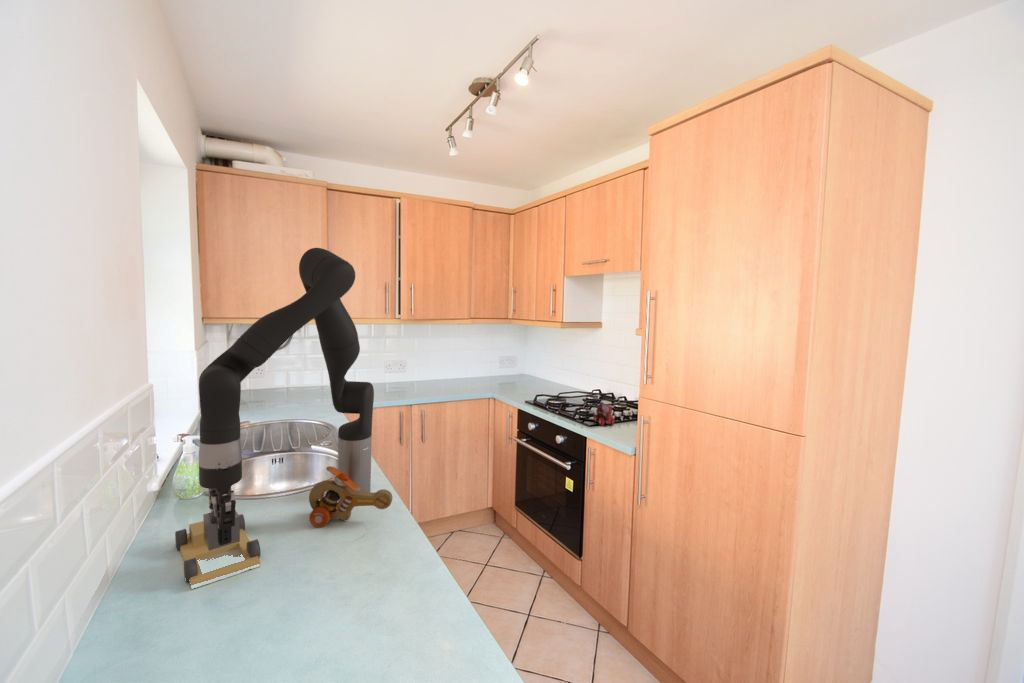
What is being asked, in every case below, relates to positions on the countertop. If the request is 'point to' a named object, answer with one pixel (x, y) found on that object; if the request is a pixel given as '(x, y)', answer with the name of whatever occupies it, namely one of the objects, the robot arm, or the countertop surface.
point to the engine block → (212, 531)
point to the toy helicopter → (341, 499)
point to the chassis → (213, 552)
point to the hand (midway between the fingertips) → (221, 536)
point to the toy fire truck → (604, 414)
